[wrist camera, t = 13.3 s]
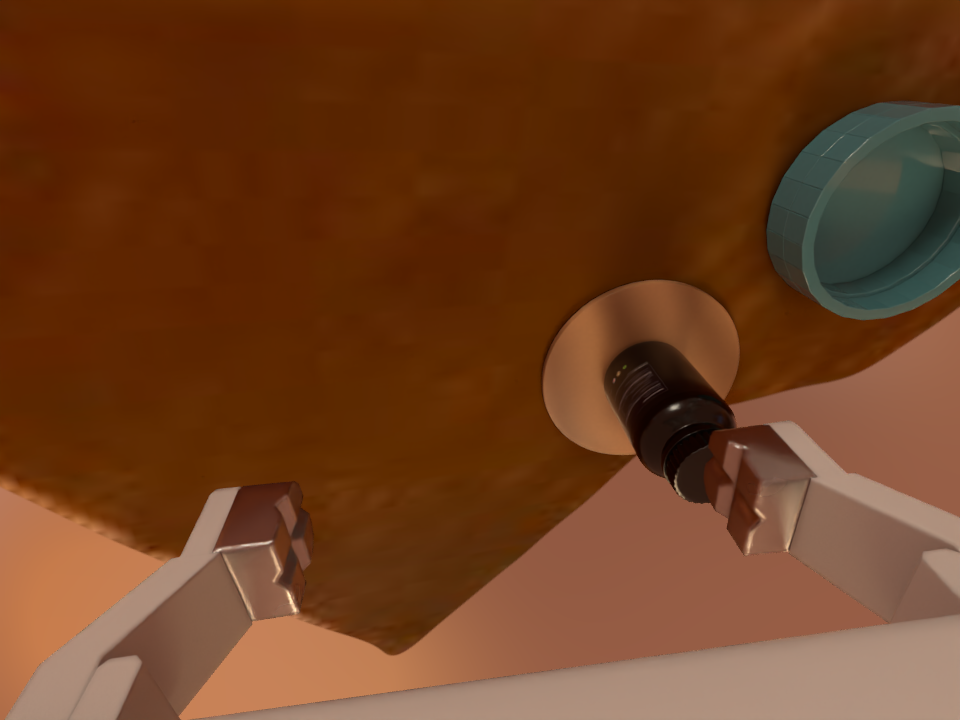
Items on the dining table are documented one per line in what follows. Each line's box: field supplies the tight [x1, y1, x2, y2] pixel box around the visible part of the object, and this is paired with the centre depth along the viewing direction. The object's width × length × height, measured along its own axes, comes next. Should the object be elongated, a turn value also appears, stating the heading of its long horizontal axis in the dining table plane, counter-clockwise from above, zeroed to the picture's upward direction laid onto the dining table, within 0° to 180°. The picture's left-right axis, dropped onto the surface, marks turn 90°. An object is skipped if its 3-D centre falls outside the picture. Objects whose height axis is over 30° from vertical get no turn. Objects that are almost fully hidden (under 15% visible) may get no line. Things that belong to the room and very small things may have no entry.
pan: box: [766, 101, 960, 320], centre depth 37 cm, size 14×14×4 cm
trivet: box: [542, 280, 740, 455], centre depth 44 cm, size 16×16×1 cm
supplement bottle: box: [604, 341, 737, 504], centre depth 38 cm, size 7×7×12 cm
